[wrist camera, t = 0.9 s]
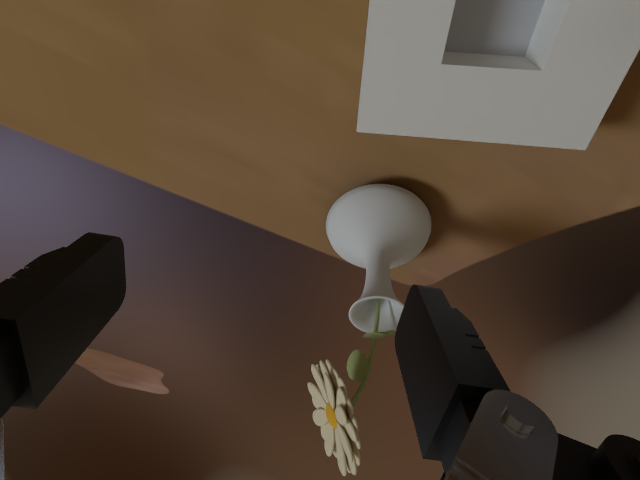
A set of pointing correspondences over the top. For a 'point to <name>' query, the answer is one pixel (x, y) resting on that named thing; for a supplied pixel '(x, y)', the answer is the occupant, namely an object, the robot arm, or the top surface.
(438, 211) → the top surface
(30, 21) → the top surface
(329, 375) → the flower in vase
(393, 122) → the socket
